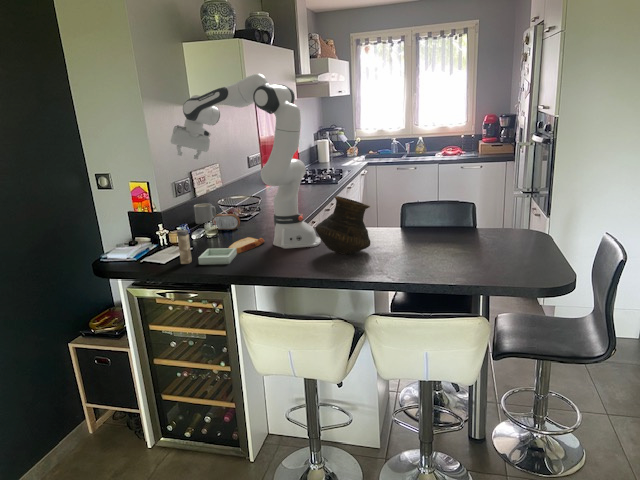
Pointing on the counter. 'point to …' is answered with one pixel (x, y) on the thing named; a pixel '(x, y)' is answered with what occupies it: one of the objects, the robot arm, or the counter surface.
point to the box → (218, 256)
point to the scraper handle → (184, 246)
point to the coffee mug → (204, 213)
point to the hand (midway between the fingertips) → (187, 157)
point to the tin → (226, 221)
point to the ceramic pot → (345, 227)
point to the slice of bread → (246, 244)
